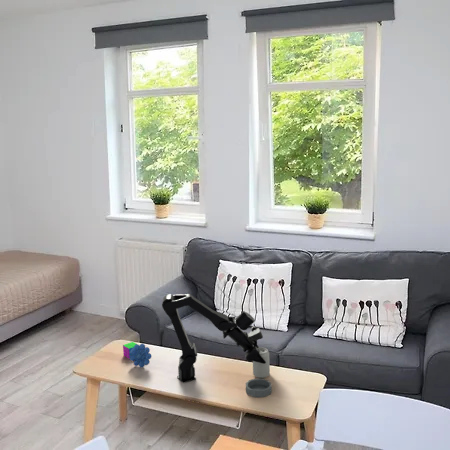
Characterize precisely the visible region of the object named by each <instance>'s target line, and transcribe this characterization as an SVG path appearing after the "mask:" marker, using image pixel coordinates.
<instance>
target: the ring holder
mask: <svg viewBox="0 0 450 450" xmlns="http://www.w3.org/2000/svg"><path fill="white" fill-rule="evenodd" d="M272 387H273V385H272V382H271V381H269V380H268V379H265V378H253V379H249V380H248V381H246V382H245V393H246V395H247V396H250V397H253V398H266V397H268V396H270V395H271V394H272V393H273V392H272V391H273V388H272Z"/></svg>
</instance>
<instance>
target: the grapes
mask: <svg viewBox="0 0 450 450" xmlns="http://www.w3.org/2000/svg"><path fill="white" fill-rule="evenodd" d="M150 351H151V349H150V348H149V347H148V346H146V345H145V343H140V344H139V343H136V345H135V346H134V349H132V350H131V351H130V353H131V354H132V356H131V357H130V359H129V360H131V362H133V365H134V366H135V367H139V368H142V369H143V368H144V367H145V366H149V364H150V360H151V359H152V354H151V353H150Z"/></svg>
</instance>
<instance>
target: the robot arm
mask: <svg viewBox="0 0 450 450" xmlns="http://www.w3.org/2000/svg"><path fill="white" fill-rule="evenodd" d="M187 306H188V307H190V308H191V309H193V310H194V311H196V312H197V313H199V314H200V315H202V316H203V317H205V318H206V319H208V320H209V321H210V323H212V325H213V326H214V327H215V328H216V329H218V330H219V331H220V332H222V337H223V339H226V338H227V337H229V338H230V340H232V341H233V342H234V343H236V346H237V347H240V348H241V349H242V351H243V352H244V353H245V360H247V362H249V363H250V362H253V361H255V362H259V363H263V364H265V363H266V361H265V360H264V359H263V358H262V356H261V355H260V354H259V353H260V351H259V349H258V348H260V346H259V345H258V340H261V339H263V338H264V337H263V336H264V335H263V333H262V331H261V328H259V327H257V326H253V324H254V323H255V322H256V320H255V318H254V317H253V316H252V315H251V314H250V313H249V312H246V311H245V310H242V311H241V313H240V314H239V315H237V317H236V316H228V315H227V314H225V313H223V312H220V311H216V310H214V309H212V308H211V307H210V306H208V305H206V304H205V303H203V302H202V301H200V300H199V299H198V298H197V297H195V296H194V295H192V294H190V293H187V294H186V293H185V294H179V293H178V294H171V293H169V294H166V295H164V296H163V299H162V303H161V307H162V309H163V311H164V313H165V314H166V315H167V316H168V318H169V319H170V321H171V324H172V327H173V329H174V333H175V334H176V337H177V339H178V341H179V345H180V346H181V353H182V354H181V355H180V356H179V358H178V359H179V361H178V365H177V368H178V372H177V373H178V375H177V377H176V378H177V379H178V380H179V381H180V382H182V383H184V384H185V383H187V382H191V381H194V380H196V379H197V377H195V376H196V368H195V365H194V364H196V362H197V357H198V348H197V347H196V345H195V342H192V343H191V341H190V340H189V337H188V335H187V332H186V330H185V327H184V325H183V322H182V318H181V316H180V314H179V310H178V309H180V308H183V307H187ZM251 326H252V327H251ZM250 327H251V330H250V332H247V330H248V329H249V328H250Z"/></svg>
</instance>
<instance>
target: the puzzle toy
mask: <svg viewBox="0 0 450 450" xmlns="http://www.w3.org/2000/svg"><path fill="white" fill-rule="evenodd" d="M136 344H137V343H136V342H134V341H130V342H128V343H126V344H122V352H123V353H122V355H123V357H125V356H126V357H127V358H126V357H125V358H126V359H128V358H129V359H128V360H131V359H130V357H131V356H132V354H131V353H130V351H131V350H132V349H134V346H135V345H136Z"/></svg>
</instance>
